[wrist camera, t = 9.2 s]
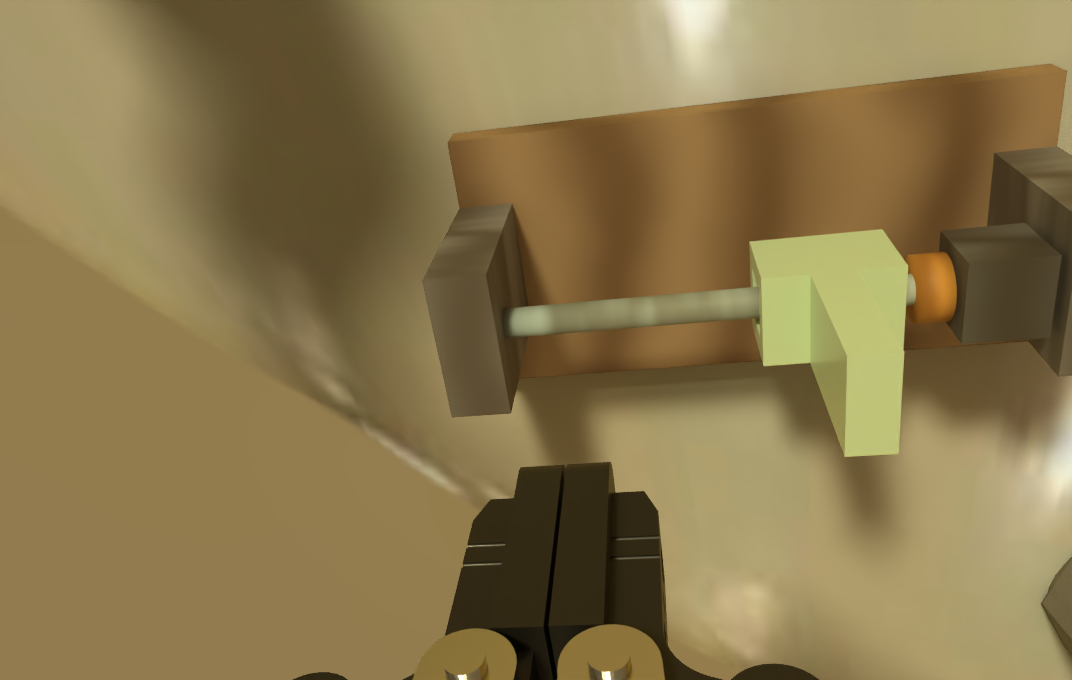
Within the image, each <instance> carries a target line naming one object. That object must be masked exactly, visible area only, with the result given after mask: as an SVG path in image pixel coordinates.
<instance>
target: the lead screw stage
mask: <svg viewBox="0 0 1072 680" xmlns="http://www.w3.org/2000/svg"><path fill="white" fill-rule="evenodd" d="M1066 74H1067V71H1066V70H1064V69H1061V68H1059V67H1057V66H1055V65H1052V64H1045V65H1036V66H1028V67H1019V68H1011V69H1002V70H994V71H985V72H977V73H968V74H960V75H951V76H943V77H934V78H926V79H917V80H909V81H900V82H892V83H883V84H875V85H866V86H858V87H849V88H841V89H832V90H824V91H815V92H807V93H798V94H790V95H781V96H773V97H764V98H755V99H747V100H738V101H730V102H721V103H713V104H704V105H696V106H687V107H679V108H670V109H662V110H653V111H645V112H636V113H628V114H619V115H611V116H602V117H594V118H585V119H577V120H568V121H560V122H551V123H543V124H534V125H526V126H517V127H509V128H500V129H492V130H483V131H475V132H466V133H458V134H453V136H452V137H451V139H450V140H449V141H448V148H449V154H450V159H451V164H452V170H453V175H454V180H455V185H456V191H457V196H458V201H459V207H460V209H459V211H458V213H457V215H456V217H455V219H454V221H453V223H452V225H451V226H450V228H449V230H448V232H447V234H446V236H445V238H444V240H443V242H442V244H441V246H440V248H439V250H438V252H437V254H436V255H435V257H434V259H433V261H432V263H431V265H430V267H429V269H428V271H427V273H426V275H425V277H424V279H423V286H424V291H425V295H426V300H427V304H428V309H429V314H430V318H431V323H432V327H433V332H434V337H435V341H436V346H437V350H438V355H439V360H440V364H441V369H442V373H443V378H444V383H445V387H446V392H447V396H448V401H449V406H450V410H451V415H452V417H465V416H479V415H494V414H509V413H511V410H512V406H513V402H514V397H515V393H516V388H517V384H518V379H519V378H532V377H546V376H559V375H573V374H587V373H600V372H614V371H627V370H641V369H655V368H668V367H682V366H695V365H709V364H723V363H736V362H750V361H762V359H761V355H760V352H759V348H758V344H757V341H756V337H755V333H754V329H753V326H752V318H760V313H759V288H758V287H751V281H750V248H749V242H750V241H761V240H772V239H782V238H793V237H804V236H814V235H825V234H836V233H846V232H857V231H868V230H879V229H882V230H883V231H884V232H885V234H886V235H887V237H888V238H889V239H890V241H891V242H892V244H893V245H894V246H895V248H896V249H897V251H898V252H899V253H900V255H901V256H902V258H903V259H904V261H905V262H906V263H907V265H908V280H907V297H906V314H905V331H904V348H903V350H913V349H927V348H940V347H954V346H967V345H981V344H995V343H1008V342H1022V341H1029V342H1030V343H1031V345H1032V346H1033V347H1034V348H1035V349H1036V350H1037V352H1038V353H1039V354H1040V355H1041V356H1042V357H1043V359H1044V360H1045V361H1046V362H1047V363H1048V365H1049V366H1050V367H1051V368H1052V369H1053V370H1054V372H1055V373H1056V374H1057V375H1058V376H1072V155H1070V154H1068V153H1067V152H1065V151H1064V150H1062V149H1061V148H1059V147H1057V142H1058V134H1059V127H1060V119H1061V112H1062V104H1063V97H1064V89H1065V82H1066Z"/></svg>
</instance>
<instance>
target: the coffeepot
mask: <svg viewBox="0 0 1072 680" xmlns="http://www.w3.org/2000/svg"><path fill="white" fill-rule="evenodd" d="M1042 604H1043V606H1044V608H1045V610H1046V612H1047V614H1048V616H1049V617H1050V619H1051V621H1052V623H1053V625H1054V627H1055V629H1056V631H1057V633H1058V635H1059V636H1060V638H1061V640H1062V642H1063V644H1064V645H1065V647H1066V648H1067V649H1068V650H1069V651H1070V653H1071V654H1072V558H1071V559H1070V560H1069V561H1068V562H1067V563H1066V564H1065V565H1064V566H1063V567H1062V568H1061V569H1060V571H1059V572H1058V573H1057V574H1056V575H1055V577H1054V579H1053V581H1052V583H1051V585H1050V587H1049V591H1048V595H1047V596H1046V598H1045V599H1044V601H1043V602H1042Z"/></svg>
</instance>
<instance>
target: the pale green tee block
mask: <svg viewBox="0 0 1072 680" xmlns="http://www.w3.org/2000/svg"><path fill="white" fill-rule="evenodd" d="M749 248H750V281H751V287H758V288H759V313H760V318H752V326H753V329H754V333H755V337H756V341H757V344H758V348H759V352H760V355H761V359H762V363H763V366H773V365H787V364H801V363H810V364H811V366H812V369H813V372H814V375H815V377H816V380H817V383H818V386H819V388H820V391H821V394H822V396H823V399H824V402H825V405H826V407H827V410H828V413H829V416H830V418H831V421H832V424H833V426H834V429H835V432H836V435H837V437H838V440H839V443H840V446H841V448H842V451H843V454H844V456H845V457H852V456H870V455H887V454H898V452H899V435H900V418H901V401H902V384H903V367H904V351H903V348H904V331H905V314H906V297H907V280H908V265H907V263H906V262H905V261H904V259H903V258H902V256H901V255H900V253H899V252H898V251H897V249H896V248H895V246H894V245H893V244H892V242H891V241H890V239H889V238H888V237H887V235H886V234H885V232H884V231H883V230H882V229H879V230H868V231H857V232H846V233H836V234H825V235H814V236H804V237H793V238H782V239H772V240H761V241H750V242H749Z"/></svg>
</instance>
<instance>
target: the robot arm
mask: <svg viewBox="0 0 1072 680" xmlns="http://www.w3.org/2000/svg"><path fill="white" fill-rule="evenodd" d="M293 680H347V679H346V678H344V677H343V676H340V675H338V674H334V673H329V672H319V673H312V674H307V675H303V676H301V677H298V678H296V679H293ZM403 680H722V679H718V678H714V677H710V676H707V675H704V674H701V673H699V672H696V671H694V670H692V669H690V668H689V667H687V666H686V665H684V664H683V663H682V662H681V661H679V660H678V659H677V658H676V657H675V656H674V655H673V653H672V652H671V651H670V649H669V647H668V638H667V617H666V596H665V578H664V568H663V558H662V547H661V537H660V526H659V516H658V511H657V509H656V508H655V506H654V505H653V503H652V502H651V500H650V499H649V498H648V496H647V495H646V493H645V492H644V491H640V492H621V493H615V486H614V478H613V470H612V465H611V462H603V463H586V464H568V465H567V466H566V468H565V466H564V465H554V466H537V467H521V468H520V470H519V474H518V479H517V485H516V490H515V495H514V498H510V499H491V500H490V501H489V502H488V503H487V505H486V506H485V507H484V508H483V509H482V511H481V512H480V513H479V515H477V517H476V518H475V519H474V521H473V524H472V528H471V532H470V536H469V540H468V548H467V549H466V552H465V556H464V560H463V568H462V569H461V573H460V577H459V581H458V585H457V589H456V593H455V597H454V601H453V605H452V609H451V613H450V617H449V622H448V626H447V630H446V634H445V636H444V637H443V638H441V639H439V640H438V641H437V642H435V643H434V644H433V645H432V646H431V647H430V648H429V649H428V650H427V651H426V652H425V653H424V655H423V656H422V657H421V659H420V661H419V663H418V666H417V669H416V671H415V673H414V674H413V675H411V676H409V677H407V678H405V679H403ZM731 680H819V679H817V678H816V677H814V676H813V675H811V674H810V673H808V672H806V671H804V670H801V669H799V668H796V667H793V666H788V665H783V664H762V665H758V666H753V667H751V668H748V669H745V670H744V671H742V672H740V673H738V674H737V675H736V676H735V677H734V678H733V679H731Z"/></svg>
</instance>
